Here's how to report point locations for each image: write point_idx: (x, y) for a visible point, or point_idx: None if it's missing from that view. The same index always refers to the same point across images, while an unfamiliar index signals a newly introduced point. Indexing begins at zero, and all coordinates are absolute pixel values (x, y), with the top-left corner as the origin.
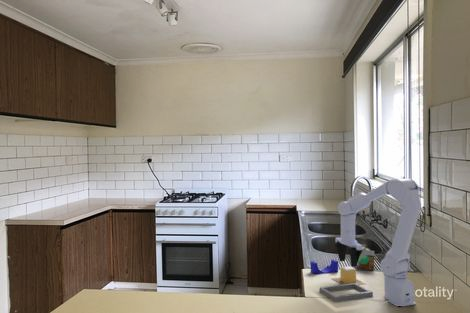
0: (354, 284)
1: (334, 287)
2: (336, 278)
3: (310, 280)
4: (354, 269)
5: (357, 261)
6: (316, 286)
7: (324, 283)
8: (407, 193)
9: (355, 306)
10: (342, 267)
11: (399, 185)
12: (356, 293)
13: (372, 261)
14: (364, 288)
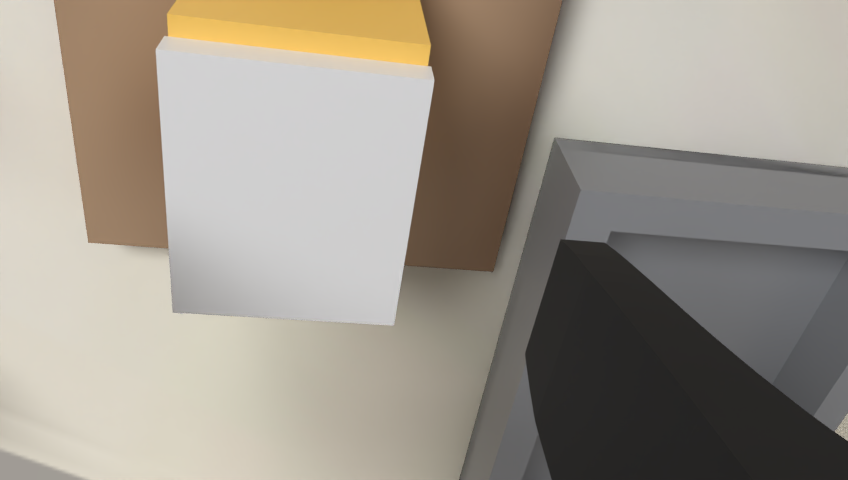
0: (610, 226)
1: (519, 472)
2: (98, 151)
3: (6, 416)
4: (427, 106)
5: (690, 337)
6: (239, 455)
7: (170, 339)
8: None
9: (841, 433)
10: (210, 300)
11: None
12: (824, 412)
13: None
14: (825, 231)
